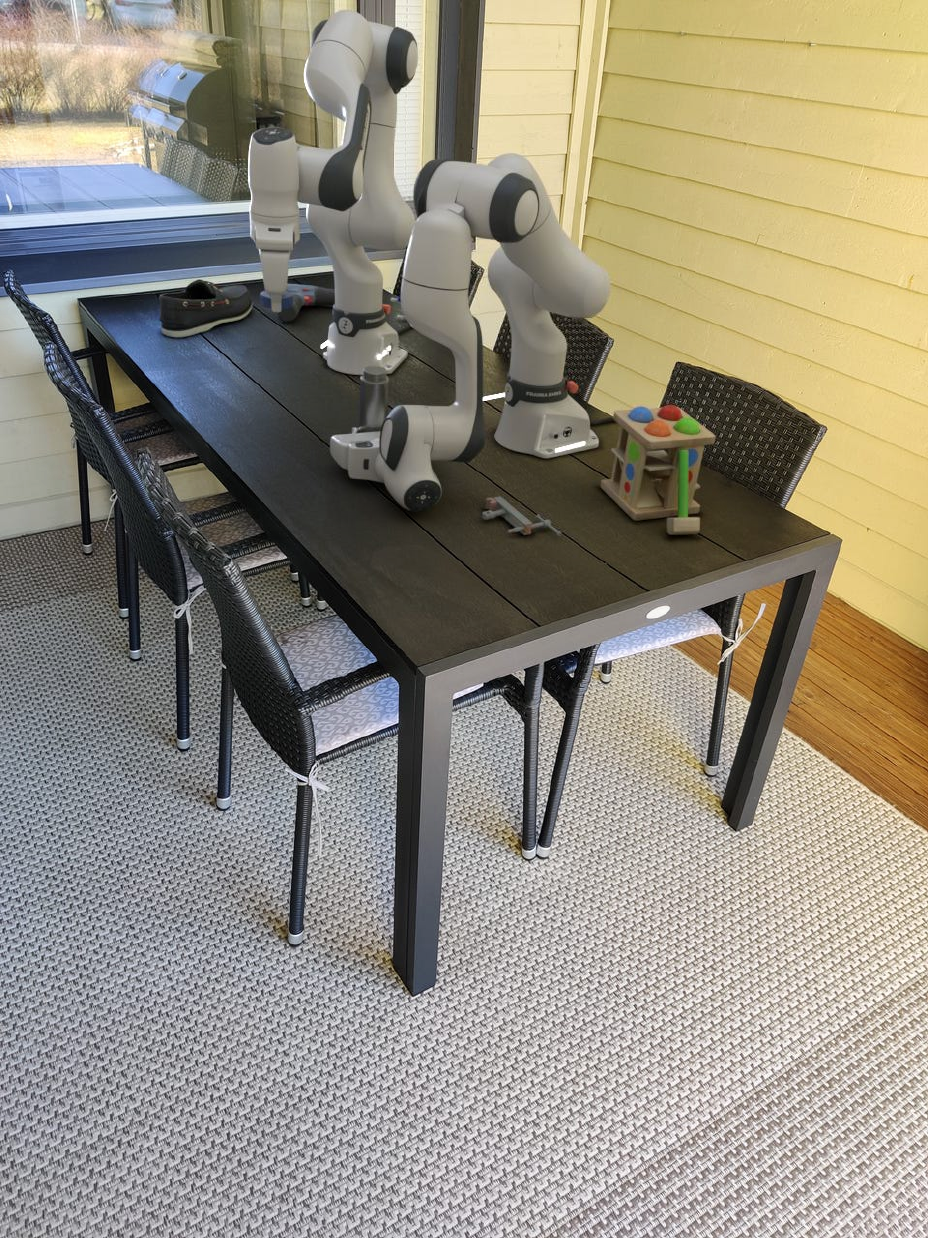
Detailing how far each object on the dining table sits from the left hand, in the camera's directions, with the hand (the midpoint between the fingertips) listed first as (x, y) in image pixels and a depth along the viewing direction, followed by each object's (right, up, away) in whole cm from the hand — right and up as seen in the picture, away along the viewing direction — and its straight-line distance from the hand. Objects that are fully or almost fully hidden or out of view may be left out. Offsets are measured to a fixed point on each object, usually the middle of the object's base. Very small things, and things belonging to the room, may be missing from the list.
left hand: (276, 305), depth 185 cm
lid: (0, +1, -1) cm, 2 cm away
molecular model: (+21, +22, +82) cm, 88 cm away
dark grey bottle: (+17, -26, +12) cm, 33 cm away
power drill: (-8, +24, +82) cm, 86 cm away
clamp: (+45, -42, -8) cm, 62 cm away
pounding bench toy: (+73, -39, +2) cm, 82 cm away
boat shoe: (-31, +18, +70) cm, 79 cm away
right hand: (+17, -22, +9) cm, 29 cm away
